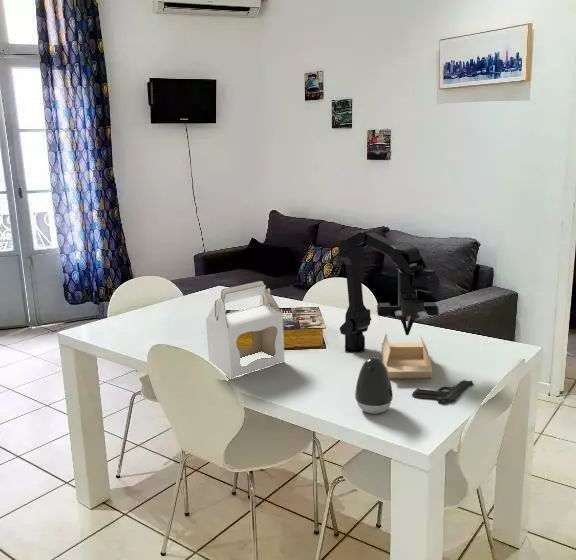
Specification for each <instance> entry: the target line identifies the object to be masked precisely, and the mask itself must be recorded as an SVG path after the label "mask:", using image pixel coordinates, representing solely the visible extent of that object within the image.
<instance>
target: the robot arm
mask: <svg viewBox="0 0 576 560" xmlns="http://www.w3.org/2000/svg"><path fill="white" fill-rule="evenodd" d="M366 247H371V248H372V249H374V250H375V251H378V252H381V253H383V254H384V255H386V256H387V257H389V258H390V260H391V261H392V263H394V264H395V265H396V266H395V268H393V270H392V272H393V273H396V274H398V277H397V279H398V281H397V283H398V284H397V285H398V287H397V291H398V292H397V296H398V297H397V298H398V300H397V305H391V304H390V302H378V303H377V304H376V305H377V306H376V313H377V315H378V316H379V317H389V316H391V314H392V313H394V314H395V317H396V318H397V319H399V320H400V322H401V324H402V327H403V329H404V334H405V336H409V335H410V332H411V329H412V327H413V324H414V322H415V320H416V319H418V318H420V317H421V315H420V313H426V314H427V315H428V316H438V315H439V311H440V310H439V305H438V304H437V303H436V302H435V301H433V302H432V301H430V302H425V299H418V296H417V294H418V291H420V292H424V293H428V294H435V293H436V292H437V291H438V290H439V287H440V283H441V281H440V279H439V276H438V275H437V274H436V270H434V269H433V270H432V269H431V270H430V269H428V266H427V264H426V263H425V260H424V259H423V257H422V254H421V253H420V249H418V247H416V246H412V245H409V244H408V245H407V244H400V243H397V242H395V241H393V240H391V239H389V238H386V237H385V236H384V235H383V236H382V235H381V234H378V233H376V232H375V231H374V230H372V229H365V230H361V231H359V232H357V234H354V235H352V236H350V237H348V238H345V239H341V240H340V242H339V243H338V253H339V258H340V260H341V261H342V262H343V264H344V266H345V275H346V285H347V286H346V287H347V298H348V307H347V309H346V313H345V317H344V318H345V319H344V320H345V321H344V322H343V324H342V325H341V326H340V327H339V331H340V334H341V335H344V352H345V353H362V352H365V350H364V349H366V341H365V339H366V338H365V336H366V335H364V332H366V333H367V332H368V329H369V326H370V325H371V321H372V317H371V309H369V308H367V306H365V303H364V296H363V294H364V293H363V285H362V274H361V273H362V272H361V262H362V260H363V257H364V254H365V253H364V251H365V248H366Z"/></svg>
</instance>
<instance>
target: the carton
mask: <svg viewBox="0 0 576 560" xmlns="http://www.w3.org/2000/svg"><path fill="white" fill-rule="evenodd" d="M382 345H383V342H382V343H381V346H382ZM389 346H390V350H391V352H390V356H389V359H388V363H387V364H386V362H385V357H384V353H383V348H382V347H381V361H382V362H383V364H384V365H385V367H386V369H387V372H388V375H389V378H390V380H391V379H392V380H395V379H396V380H397V379H398V380H401V379H402V380H405V379H407V380H408V379H413V380H415V379H417V380H418V379H419V380H422V379H424V380H428V379H432V378H433V366H432V365H433V364H432V363H431V364H430V362H429V360H428V357H427V355H426V352H425V350H424V347H423V345H422V342H389Z"/></svg>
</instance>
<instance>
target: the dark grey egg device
mask: <svg viewBox="0 0 576 560" xmlns="http://www.w3.org/2000/svg"><path fill="white" fill-rule="evenodd" d="M358 373H359V374H358V378H357V379H356V380H357V381H356V385H355V393H354V395H355V396H354V398H355V401H356V402H357V405H358V407H359V408H360V409H361V410H362V411H364V412H365V413H367V414H371V415H375V414H376V415H377V414H382V413H384V412H385V411H387V410H388V409H389V408H390V406H391V403H392V401H393V397H394V396H393V395H394V394H393V388H392V382H391V379H390V378H389V375H388V372H387V369H386V367H385V365H384V364H383V362H382V359H380V358H379V357H375V356H374V357H369V358H367V359H366V360H365V361H364V362H363V364H362V366H361V367H360V370H359V372H358Z"/></svg>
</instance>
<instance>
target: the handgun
mask: <svg viewBox="0 0 576 560" xmlns="http://www.w3.org/2000/svg"><path fill="white" fill-rule="evenodd" d="M473 385H474V382H473V381H472V380H466V379H464V380H461V381H460V382H458V383H457V384H456V385H454V386H445V385H444V386H441V387H440V388H438V390H432V389H422V388H421V389H420V388H419V387H417V388H416V389H415V390H414V391H412V393H411V396H412V397H413V398H415V399H423V400H425V399H427V400H436V401H437V404H440V405H443V404H451V403H453V402H456V400H457V398H459V397H460V396H461V394H462V393H464V391H466V389H468V388H469V387H470V386H473ZM444 390H446V391H444Z"/></svg>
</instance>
